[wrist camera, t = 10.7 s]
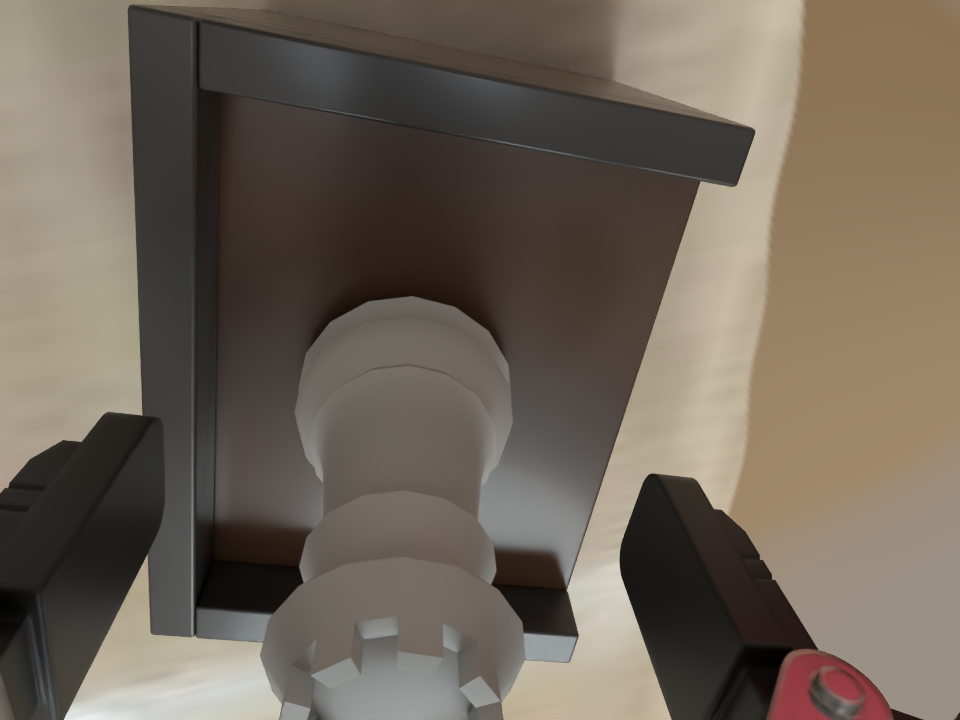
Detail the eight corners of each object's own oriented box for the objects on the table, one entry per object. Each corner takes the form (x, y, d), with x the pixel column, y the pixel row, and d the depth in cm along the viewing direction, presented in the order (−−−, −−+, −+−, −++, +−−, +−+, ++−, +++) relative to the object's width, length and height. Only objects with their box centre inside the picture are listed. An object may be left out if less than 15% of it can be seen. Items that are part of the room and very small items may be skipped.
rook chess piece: (531, 436, 16) (624, 791, 8) (348, 490, 16) (288, 877, 9) (475, 259, 14) (533, 528, 6) (266, 324, 14) (101, 654, 7)
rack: (262, 9, 18) (125, 3, 10) (614, 81, 20) (758, 128, 11) (246, 416, 24) (149, 636, 15) (520, 448, 25) (569, 664, 17)
